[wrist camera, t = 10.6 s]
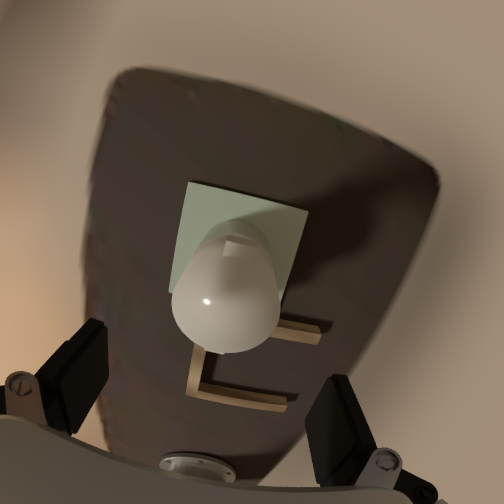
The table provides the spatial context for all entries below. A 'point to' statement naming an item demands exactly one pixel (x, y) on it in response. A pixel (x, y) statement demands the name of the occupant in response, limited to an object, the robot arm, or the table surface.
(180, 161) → the table surface
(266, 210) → the sage tile
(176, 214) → the table surface
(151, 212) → the table surface
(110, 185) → the table surface
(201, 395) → the oak stall
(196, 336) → the labeled white canister
